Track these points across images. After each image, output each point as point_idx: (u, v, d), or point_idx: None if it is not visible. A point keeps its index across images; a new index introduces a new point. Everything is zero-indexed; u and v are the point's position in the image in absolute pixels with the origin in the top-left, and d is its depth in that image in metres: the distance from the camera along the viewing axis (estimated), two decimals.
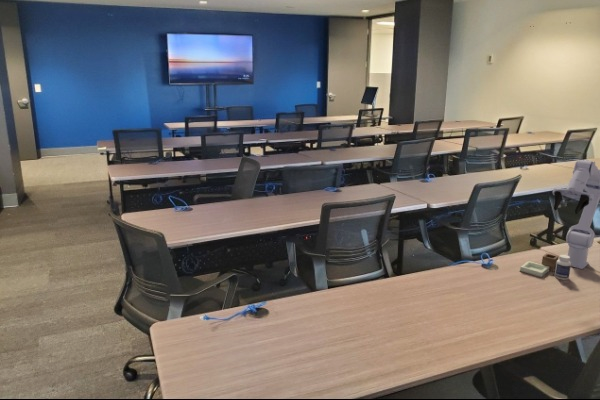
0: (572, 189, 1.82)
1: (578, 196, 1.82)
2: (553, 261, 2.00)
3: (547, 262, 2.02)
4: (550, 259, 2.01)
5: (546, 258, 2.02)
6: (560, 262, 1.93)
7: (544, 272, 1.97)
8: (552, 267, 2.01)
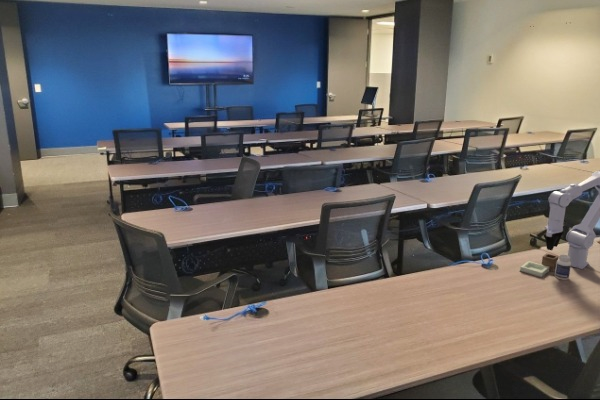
0: None
1: None
2: (553, 261, 2.00)
3: (547, 262, 2.02)
4: (550, 259, 2.01)
5: (546, 258, 2.02)
6: (560, 262, 1.93)
7: (544, 272, 1.97)
8: (552, 267, 2.01)
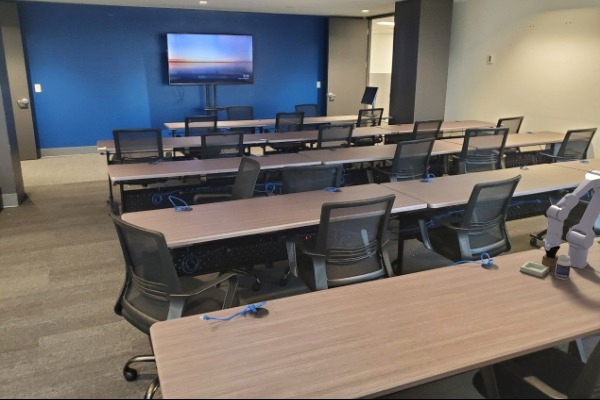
0: None
1: None
2: (553, 261, 2.00)
3: (547, 262, 2.02)
4: (550, 259, 2.01)
5: (546, 258, 2.02)
6: (560, 262, 1.93)
7: (544, 272, 1.97)
8: (552, 267, 2.01)
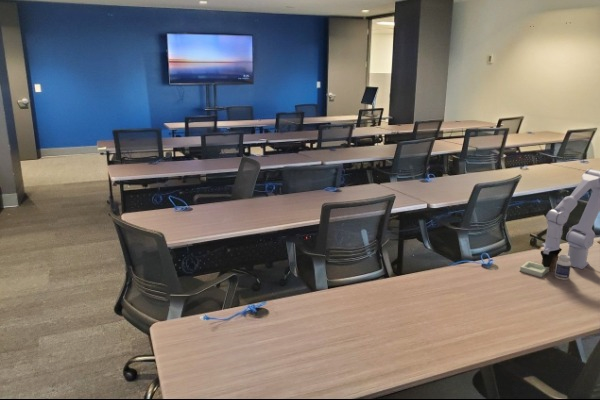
0: None
1: None
2: (553, 261, 2.00)
3: None
4: None
5: None
6: (560, 262, 1.93)
7: (544, 272, 1.97)
8: (552, 267, 2.01)
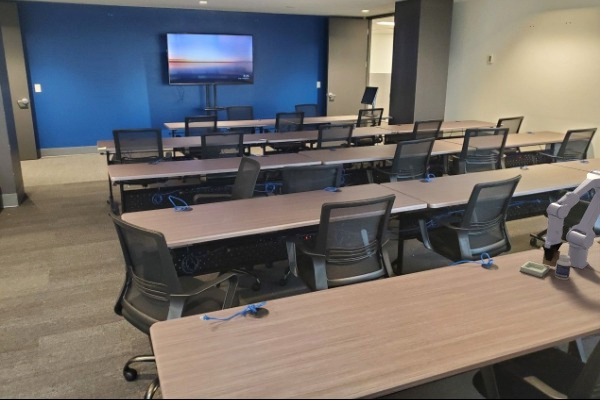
0: None
1: None
2: (555, 256, 1.99)
3: None
4: None
5: None
6: (560, 262, 1.93)
7: (544, 272, 1.97)
8: (554, 262, 2.00)
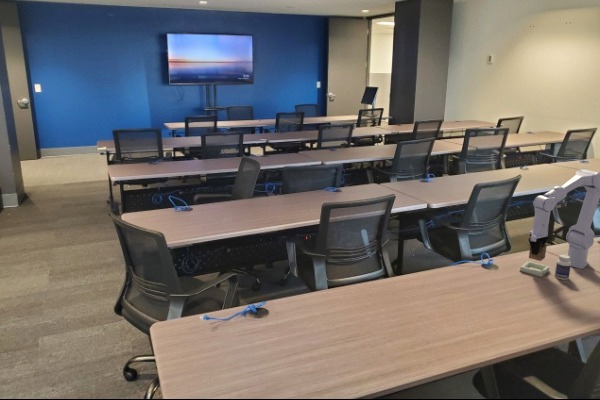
0: None
1: None
2: (541, 250, 1.95)
3: None
4: None
5: None
6: (560, 262, 1.93)
7: (544, 272, 1.97)
8: (540, 256, 1.96)
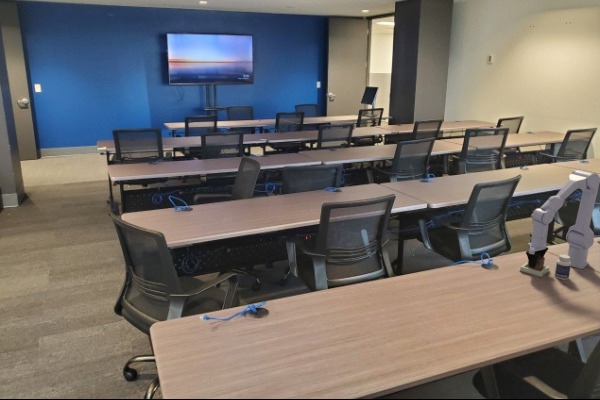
0: None
1: None
2: (539, 263, 1.97)
3: None
4: None
5: None
6: (560, 262, 1.93)
7: (544, 272, 1.97)
8: (538, 269, 1.98)
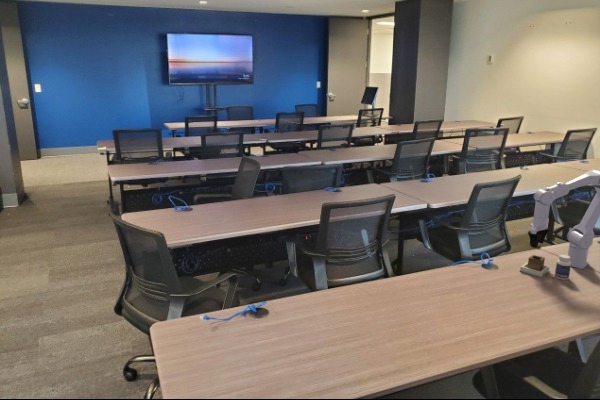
0: None
1: None
2: (539, 263, 1.97)
3: (533, 264, 1.99)
4: (536, 261, 1.98)
5: (532, 259, 1.99)
6: (560, 262, 1.93)
7: (544, 272, 1.97)
8: (538, 269, 1.98)
